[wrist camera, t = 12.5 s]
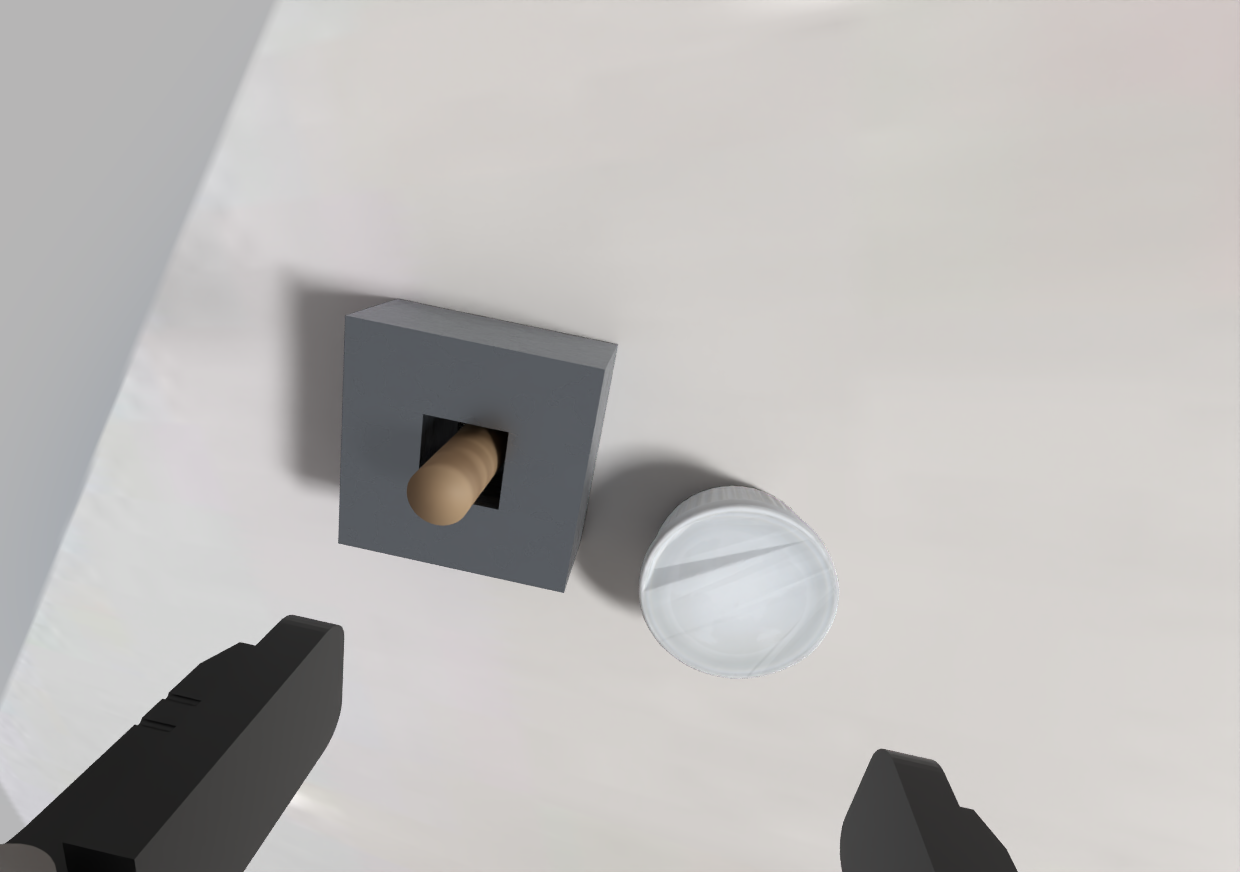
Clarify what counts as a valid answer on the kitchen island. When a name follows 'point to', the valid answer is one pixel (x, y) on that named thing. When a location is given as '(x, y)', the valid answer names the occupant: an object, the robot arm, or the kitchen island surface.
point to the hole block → (479, 395)
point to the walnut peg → (457, 474)
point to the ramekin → (738, 584)
